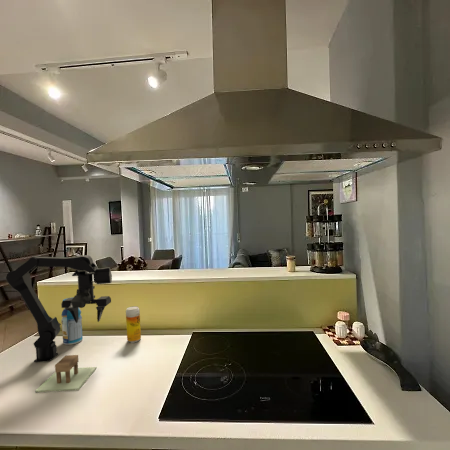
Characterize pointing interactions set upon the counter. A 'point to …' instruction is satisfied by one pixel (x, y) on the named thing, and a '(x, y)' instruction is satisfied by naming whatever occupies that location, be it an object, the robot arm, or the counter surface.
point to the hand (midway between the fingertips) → (87, 322)
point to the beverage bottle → (71, 327)
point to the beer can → (133, 324)
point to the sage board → (74, 384)
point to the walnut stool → (66, 367)
